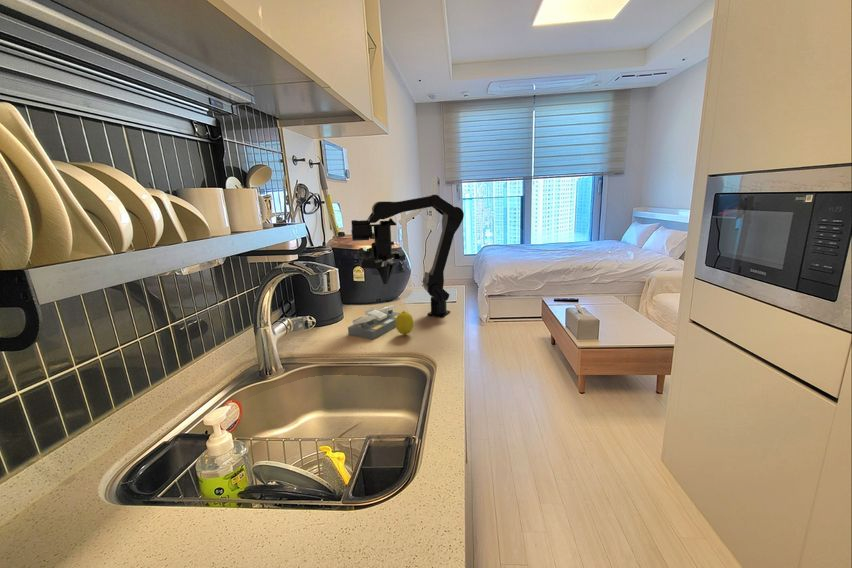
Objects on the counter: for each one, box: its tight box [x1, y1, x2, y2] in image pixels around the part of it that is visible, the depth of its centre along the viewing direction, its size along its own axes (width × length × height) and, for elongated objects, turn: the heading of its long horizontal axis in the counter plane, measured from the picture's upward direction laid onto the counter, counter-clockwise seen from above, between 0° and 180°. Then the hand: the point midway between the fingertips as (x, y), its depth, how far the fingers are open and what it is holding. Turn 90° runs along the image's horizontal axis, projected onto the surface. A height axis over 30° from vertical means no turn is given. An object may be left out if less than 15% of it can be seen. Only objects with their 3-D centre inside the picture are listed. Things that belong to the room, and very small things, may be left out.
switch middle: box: [363, 307, 387, 321], centre depth 121 cm, size 4×6×1 cm, turn 61°
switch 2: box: [377, 304, 397, 312], centre depth 126 cm, size 4×6×1 cm, turn 61°
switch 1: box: [351, 315, 376, 325], centre depth 116 cm, size 4×6×1 cm, turn 61°
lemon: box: [395, 310, 414, 336], centre depth 113 cm, size 6×6×8 cm
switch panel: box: [347, 309, 401, 340], centre depth 121 cm, size 19×10×4 cm, turn 151°
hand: (385, 284), depth 127 cm, fingers closed
